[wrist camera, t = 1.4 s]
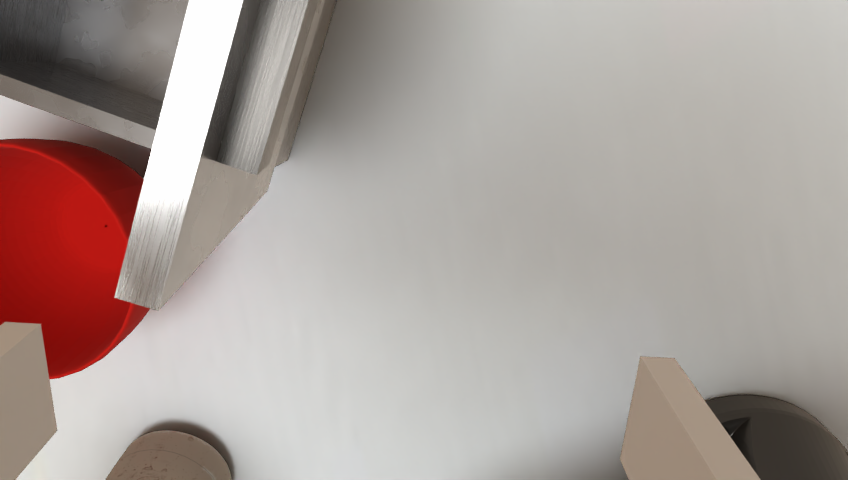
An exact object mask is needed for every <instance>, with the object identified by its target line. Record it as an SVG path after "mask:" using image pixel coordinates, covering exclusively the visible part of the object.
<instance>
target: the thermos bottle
mask: <svg viewBox="0 0 848 480" xmlns="http://www.w3.org/2000/svg"><path fill="white" fill-rule="evenodd" d="M106 480H231V473H230V470H229V468H228V465H227V463H226V462H225V460H224V459H223V457H222V456H221V455H220V454H219V453H218V452H217V451H216V449H215V448H213V447H212V446H211V445H209V444H208V443H207V442H205V441H203V440H201V439H199V438H198V437H195V436H193V435H190V434H187V433H183V432H178V431H168V430H162V431H154V432H151V433H148V434H144V435H143V436H141V437H139V438H137V439H136V440H135V441H133V442H132V443H131V444H130V445H129V446H128V448H127V449H126V451H125V452H124V454H123V455H122V456H121V458H120V459H119V461H118V462H117V463H116V465H115V466H114V468H113V469H112V471H111V472H110V474H109V475H108V477H107V478H106Z"/></svg>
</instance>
